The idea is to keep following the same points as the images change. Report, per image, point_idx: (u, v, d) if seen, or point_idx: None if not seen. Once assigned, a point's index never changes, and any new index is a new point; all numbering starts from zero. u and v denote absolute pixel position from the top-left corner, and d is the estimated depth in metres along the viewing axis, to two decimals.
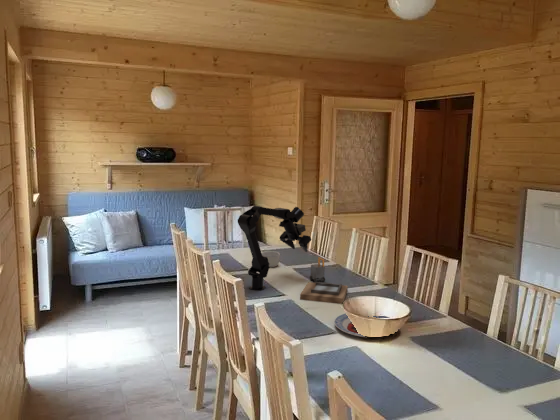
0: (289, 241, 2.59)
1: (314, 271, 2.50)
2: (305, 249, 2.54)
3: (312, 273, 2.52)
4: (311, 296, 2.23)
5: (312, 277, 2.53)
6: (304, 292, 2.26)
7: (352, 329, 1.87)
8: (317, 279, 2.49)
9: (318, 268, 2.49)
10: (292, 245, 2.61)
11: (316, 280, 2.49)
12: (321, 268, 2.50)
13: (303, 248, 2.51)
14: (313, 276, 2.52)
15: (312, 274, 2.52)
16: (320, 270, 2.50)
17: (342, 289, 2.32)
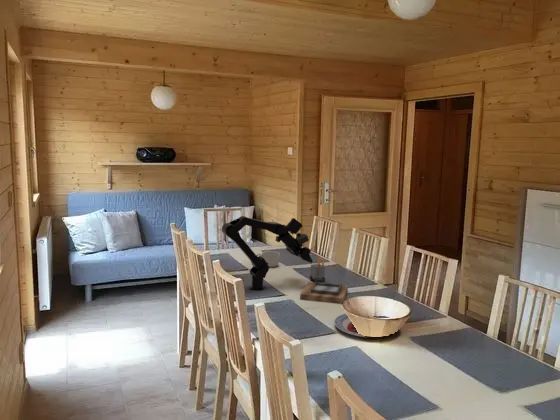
0: None
1: (314, 271, 2.50)
2: (308, 260, 2.43)
3: (312, 273, 2.52)
4: (311, 296, 2.23)
5: (312, 277, 2.53)
6: (304, 292, 2.26)
7: (352, 329, 1.87)
8: (317, 279, 2.49)
9: (318, 268, 2.49)
10: None
11: (316, 280, 2.49)
12: (321, 268, 2.50)
13: (305, 260, 2.41)
14: (313, 276, 2.52)
15: (312, 274, 2.52)
16: (320, 270, 2.50)
17: (342, 289, 2.32)
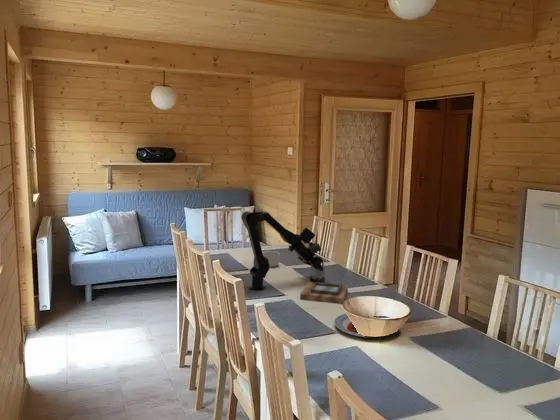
0: (309, 261, 2.54)
1: (314, 271, 2.50)
2: (319, 269, 2.48)
3: (312, 273, 2.52)
4: (311, 296, 2.23)
5: (312, 277, 2.53)
6: (304, 292, 2.26)
7: (352, 329, 1.87)
8: (317, 279, 2.49)
9: None
10: None
11: (316, 280, 2.49)
12: None
13: None
14: (313, 276, 2.52)
15: (312, 274, 2.52)
16: None
17: (342, 289, 2.32)
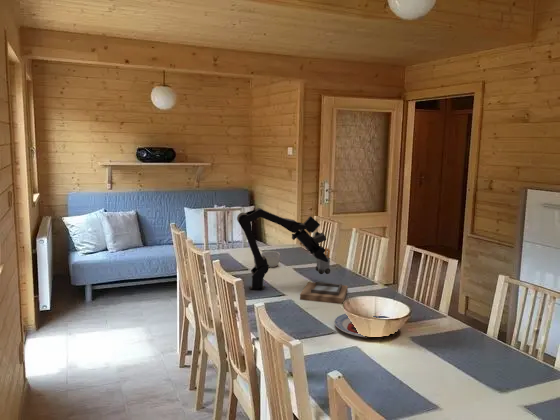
0: None
1: (319, 262, 2.43)
2: (323, 259, 2.40)
3: (317, 264, 2.45)
4: (311, 296, 2.23)
5: (317, 268, 2.45)
6: (304, 292, 2.26)
7: (352, 329, 1.87)
8: (321, 270, 2.42)
9: None
10: None
11: (320, 271, 2.42)
12: None
13: None
14: (318, 267, 2.45)
15: (317, 265, 2.45)
16: None
17: (342, 289, 2.32)
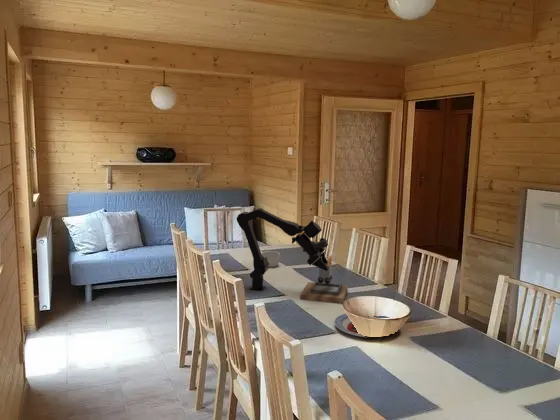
0: None
1: None
2: (321, 267, 2.26)
3: None
4: (311, 296, 2.23)
5: None
6: (304, 292, 2.26)
7: (352, 329, 1.87)
8: (320, 278, 2.28)
9: None
10: None
11: (319, 279, 2.28)
12: None
13: (316, 266, 2.25)
14: None
15: None
16: None
17: (342, 289, 2.32)
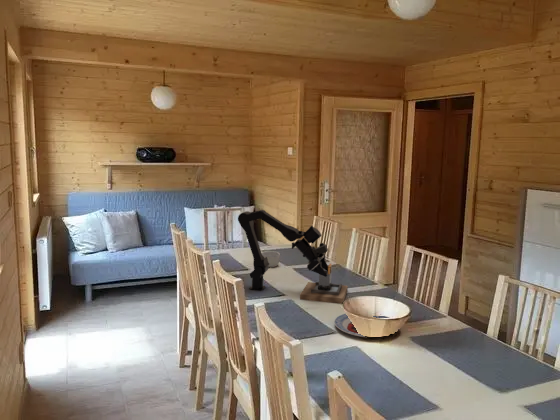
0: (320, 263, 2.35)
1: None
2: (321, 273, 2.24)
3: None
4: (311, 296, 2.23)
5: None
6: (304, 292, 2.26)
7: (352, 329, 1.87)
8: (320, 286, 2.28)
9: (322, 275, 2.27)
10: (325, 267, 2.34)
11: (319, 287, 2.28)
12: None
13: (316, 272, 2.24)
14: None
15: None
16: (324, 277, 2.27)
17: (342, 289, 2.32)
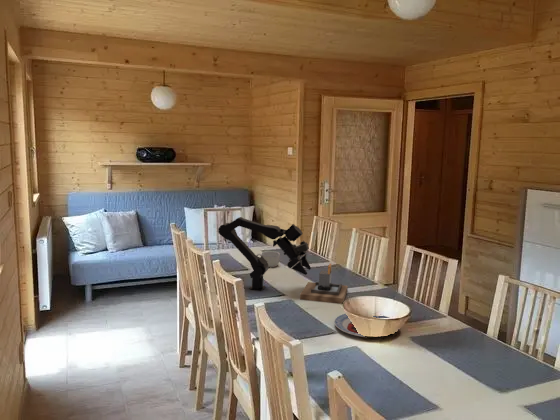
0: (302, 261, 2.37)
1: None
2: (301, 271, 2.27)
3: None
4: (311, 296, 2.23)
5: None
6: (304, 292, 2.26)
7: (352, 329, 1.87)
8: (320, 286, 2.28)
9: (322, 275, 2.27)
10: (306, 265, 2.37)
11: (319, 287, 2.28)
12: (325, 275, 2.27)
13: (296, 270, 2.27)
14: None
15: None
16: (324, 277, 2.27)
17: (342, 289, 2.32)
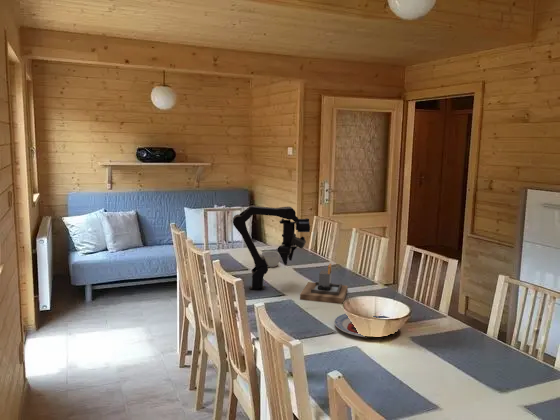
0: None
1: None
2: (283, 260, 2.34)
3: None
4: (311, 296, 2.23)
5: None
6: (304, 292, 2.26)
7: (352, 329, 1.87)
8: (320, 286, 2.28)
9: (322, 275, 2.27)
10: (290, 255, 2.43)
11: (319, 287, 2.28)
12: (325, 275, 2.27)
13: None
14: None
15: None
16: (324, 277, 2.27)
17: (342, 289, 2.32)
